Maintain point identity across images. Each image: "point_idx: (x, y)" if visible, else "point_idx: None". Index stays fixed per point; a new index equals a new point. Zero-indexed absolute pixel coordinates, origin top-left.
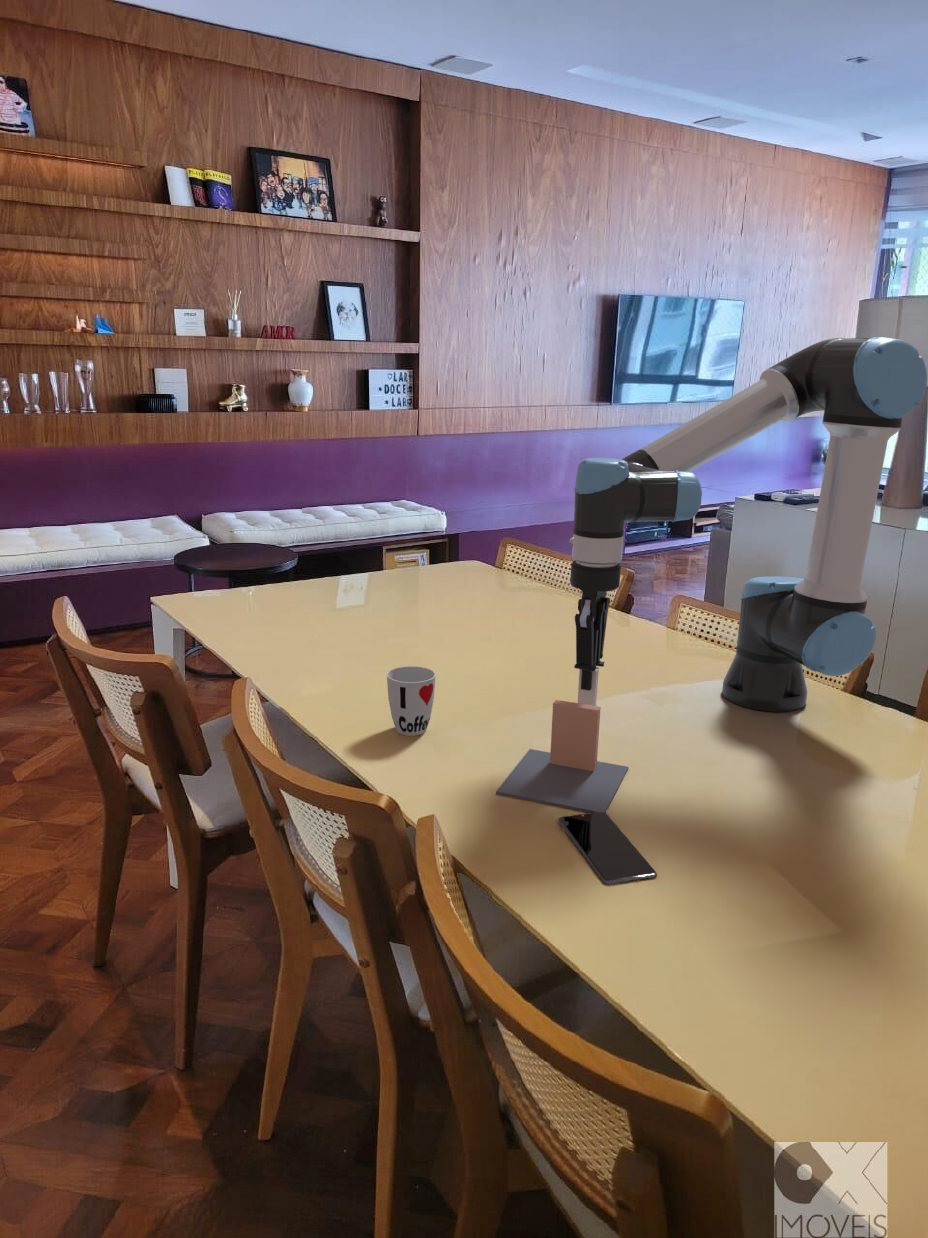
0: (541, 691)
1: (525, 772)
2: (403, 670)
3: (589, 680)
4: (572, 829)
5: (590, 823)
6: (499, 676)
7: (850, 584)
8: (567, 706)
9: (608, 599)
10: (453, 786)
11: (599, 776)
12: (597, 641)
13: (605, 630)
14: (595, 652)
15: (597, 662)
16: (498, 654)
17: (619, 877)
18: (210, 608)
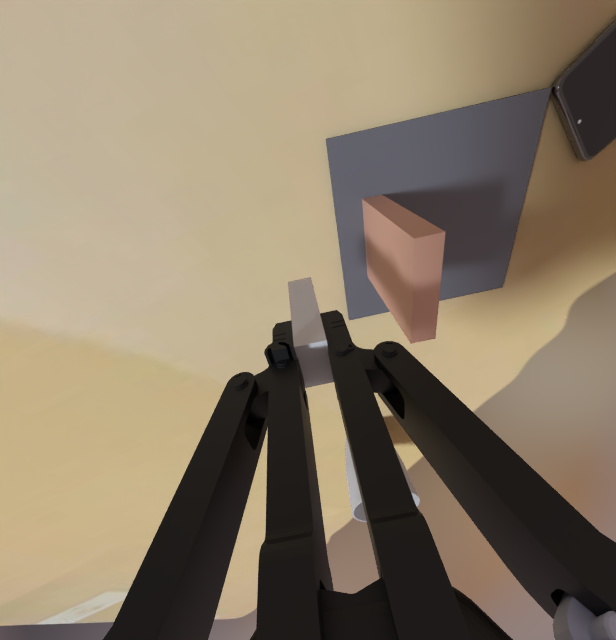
0: (136, 406)
1: None
2: (363, 515)
3: (346, 329)
4: None
5: (609, 90)
6: (144, 457)
7: None
8: (437, 307)
9: None
10: (490, 333)
11: (398, 174)
12: (352, 440)
13: (180, 484)
14: (368, 394)
15: (296, 364)
16: (79, 490)
17: None
18: (231, 605)
